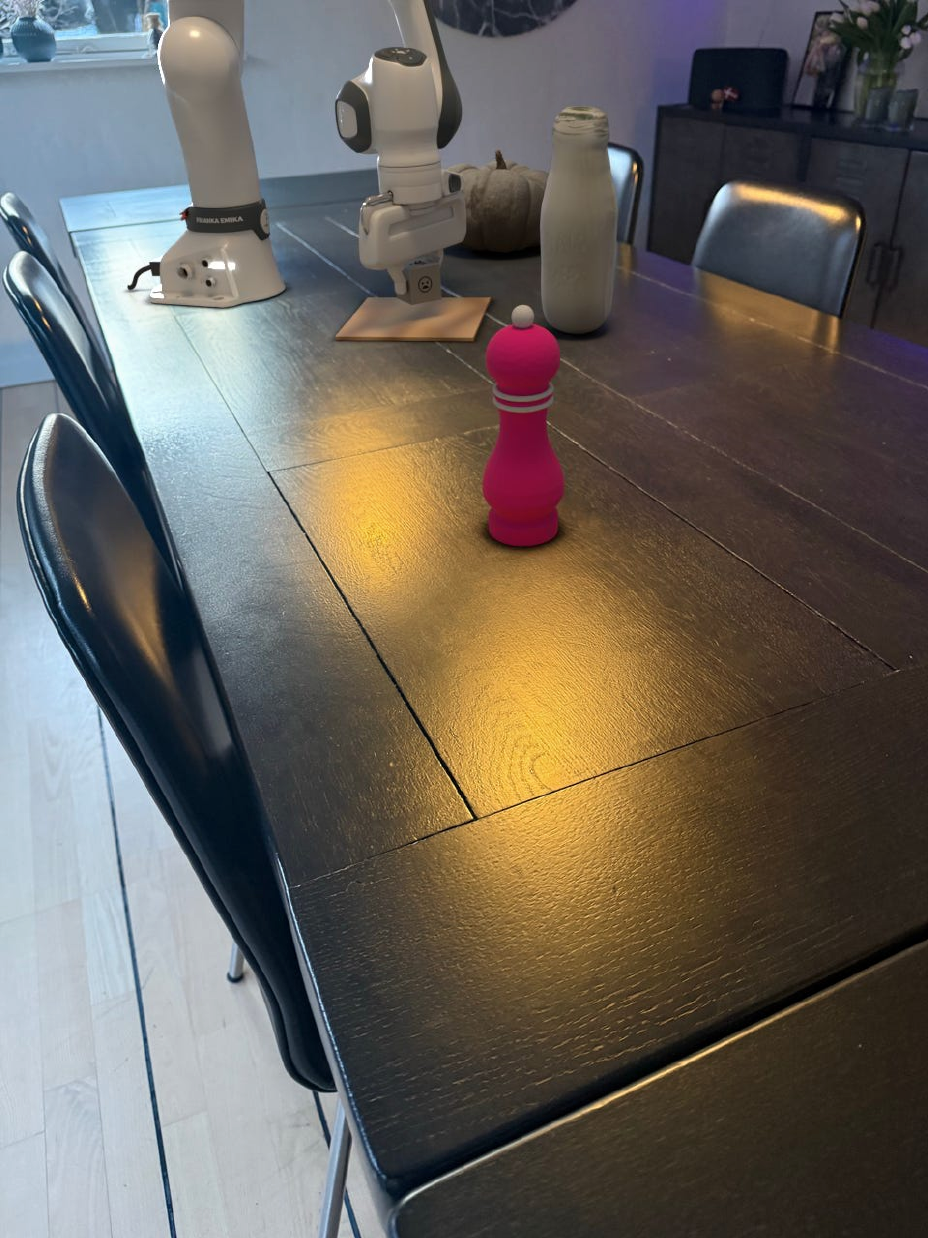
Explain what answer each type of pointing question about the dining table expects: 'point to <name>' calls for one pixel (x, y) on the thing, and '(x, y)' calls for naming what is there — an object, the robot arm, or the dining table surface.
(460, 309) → the brown wooden board
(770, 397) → the dining table surface
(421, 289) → the grey emoticon cube
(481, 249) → the gourd
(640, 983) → the dining table surface
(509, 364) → the pepper mill
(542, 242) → the glass bottle
